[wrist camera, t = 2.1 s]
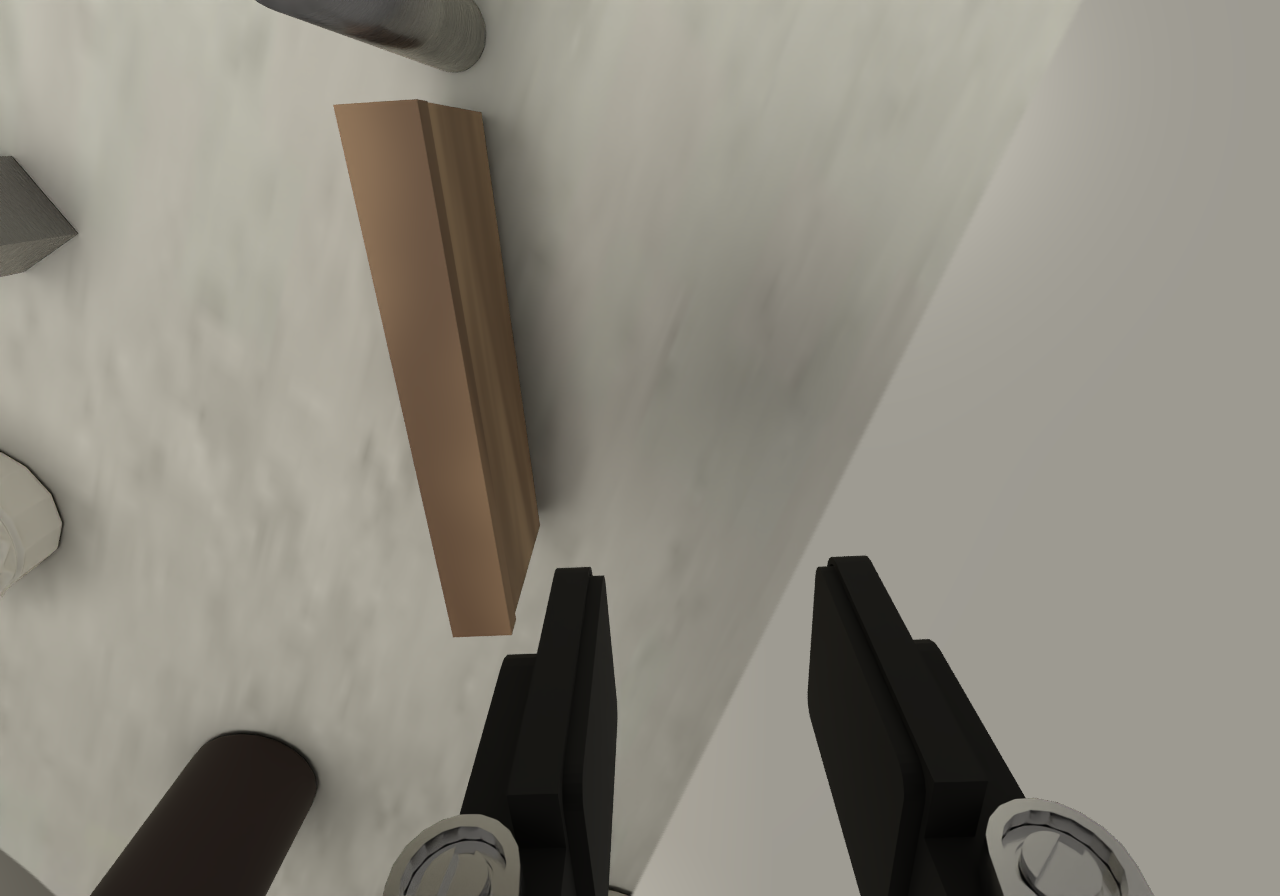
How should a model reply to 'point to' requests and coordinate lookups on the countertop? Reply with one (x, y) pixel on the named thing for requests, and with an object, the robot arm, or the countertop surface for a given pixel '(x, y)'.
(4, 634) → the countertop surface
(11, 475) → the white cup
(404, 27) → the grey glass test tube
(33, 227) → the post
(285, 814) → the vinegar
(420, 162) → the brown wooden board
